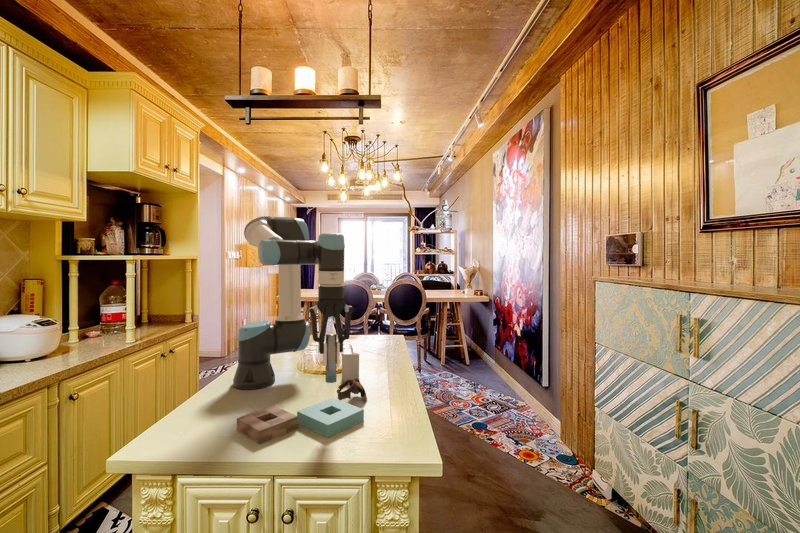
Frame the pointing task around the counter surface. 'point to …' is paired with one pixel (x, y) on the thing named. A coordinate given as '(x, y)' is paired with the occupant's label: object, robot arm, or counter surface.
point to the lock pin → (331, 357)
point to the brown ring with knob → (351, 389)
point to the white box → (350, 366)
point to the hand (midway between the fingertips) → (331, 363)
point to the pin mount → (267, 424)
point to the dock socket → (330, 417)
